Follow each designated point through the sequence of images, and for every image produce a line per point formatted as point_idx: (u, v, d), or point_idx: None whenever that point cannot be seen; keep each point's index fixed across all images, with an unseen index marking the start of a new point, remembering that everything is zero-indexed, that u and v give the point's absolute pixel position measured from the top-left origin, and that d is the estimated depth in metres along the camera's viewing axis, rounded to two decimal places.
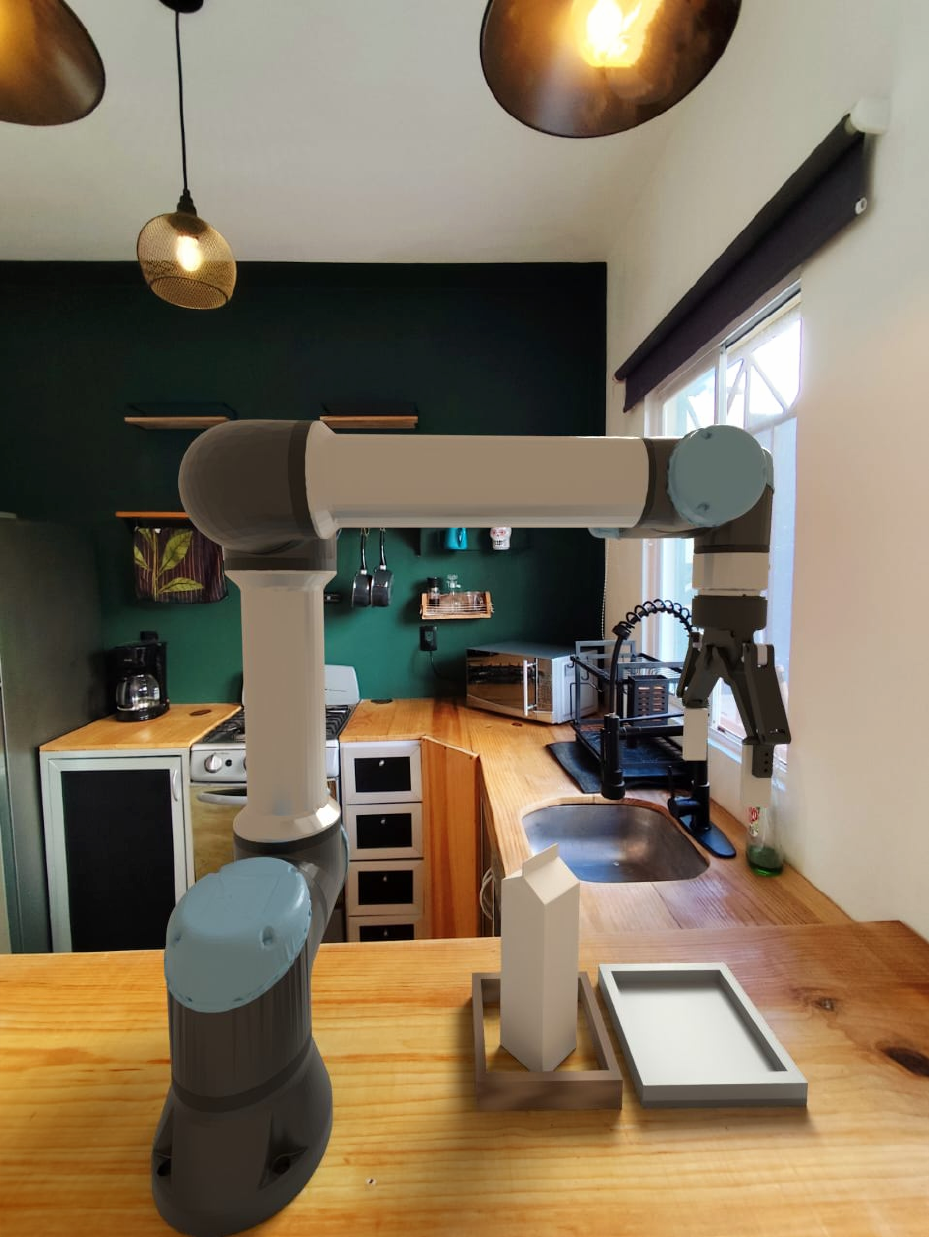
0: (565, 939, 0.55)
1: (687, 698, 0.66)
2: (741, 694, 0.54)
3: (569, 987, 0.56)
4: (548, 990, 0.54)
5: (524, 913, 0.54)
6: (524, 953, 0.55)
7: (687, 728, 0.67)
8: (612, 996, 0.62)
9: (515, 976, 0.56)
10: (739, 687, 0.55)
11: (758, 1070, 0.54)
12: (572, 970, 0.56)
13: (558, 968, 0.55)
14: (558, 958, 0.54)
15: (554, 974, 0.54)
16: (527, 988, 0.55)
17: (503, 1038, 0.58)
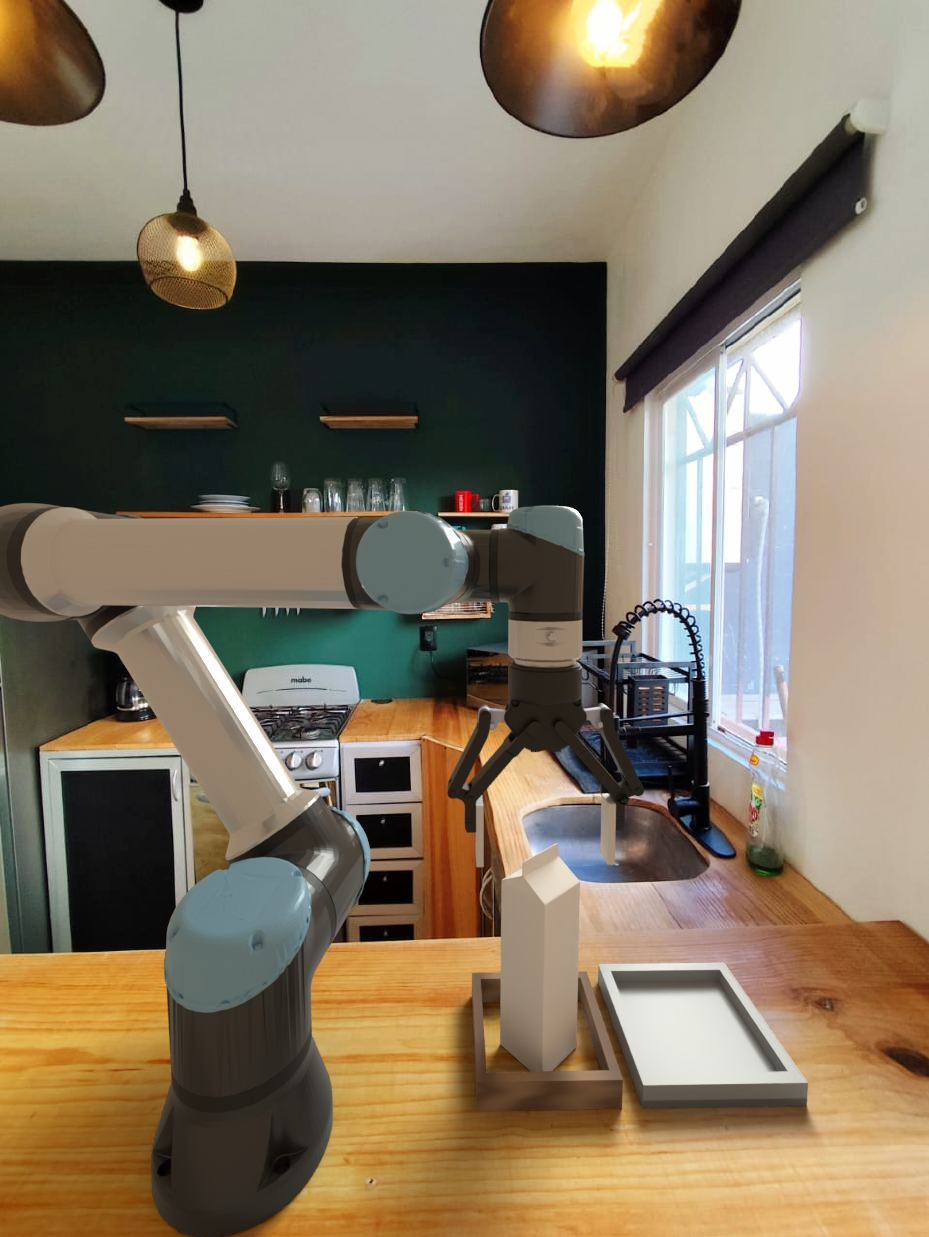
0: (565, 939, 0.55)
1: None
2: None
3: (570, 987, 0.56)
4: (548, 990, 0.54)
5: (524, 913, 0.54)
6: (525, 953, 0.55)
7: (601, 815, 0.57)
8: (612, 996, 0.62)
9: (515, 976, 0.56)
10: (498, 749, 0.56)
11: (758, 1070, 0.54)
12: (572, 970, 0.56)
13: (558, 968, 0.55)
14: (558, 958, 0.54)
15: (554, 974, 0.54)
16: (527, 988, 0.55)
17: (503, 1038, 0.58)
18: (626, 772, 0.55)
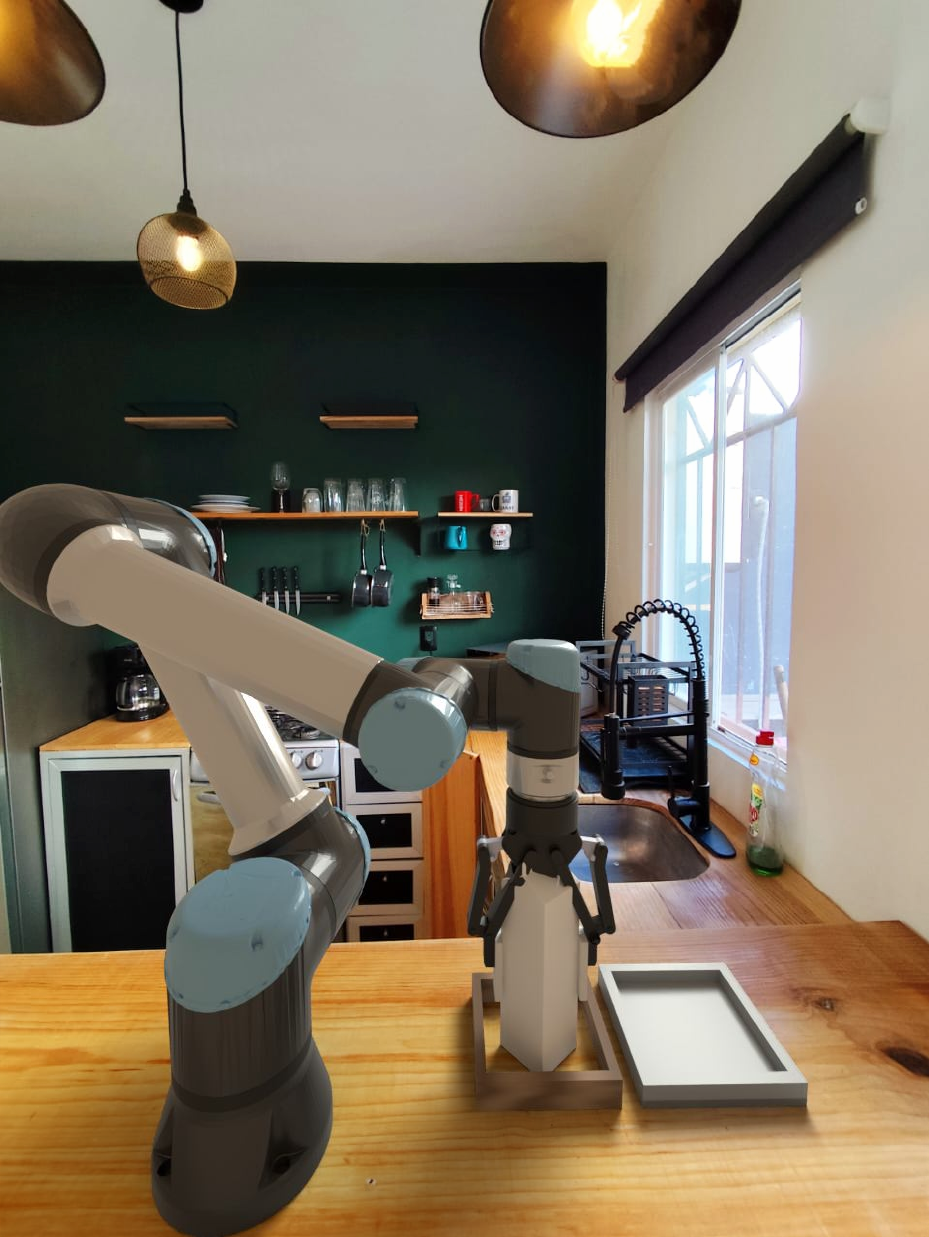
0: (565, 939, 0.55)
1: None
2: None
3: (570, 987, 0.56)
4: (548, 989, 0.54)
5: (524, 912, 0.54)
6: (525, 953, 0.55)
7: None
8: (612, 996, 0.62)
9: (515, 976, 0.56)
10: (504, 877, 0.57)
11: (758, 1070, 0.54)
12: (572, 970, 0.56)
13: (558, 968, 0.55)
14: (558, 957, 0.54)
15: (554, 973, 0.54)
16: (527, 988, 0.55)
17: (503, 1038, 0.58)
18: (604, 909, 0.56)
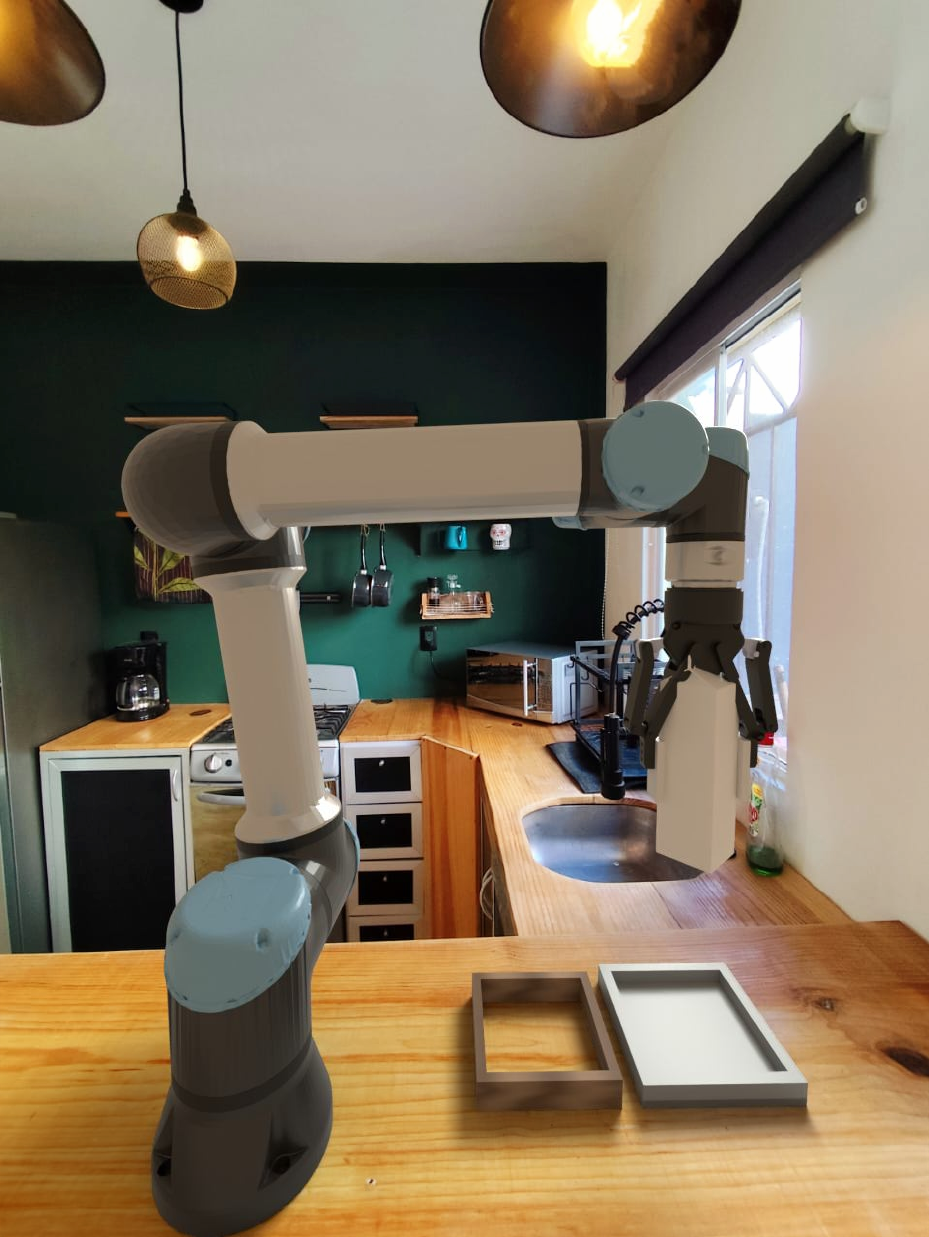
0: (729, 735, 0.55)
1: None
2: (657, 689, 0.57)
3: (731, 787, 0.56)
4: (717, 780, 0.53)
5: (690, 706, 0.54)
6: (690, 747, 0.54)
7: None
8: (612, 996, 0.62)
9: (676, 776, 0.55)
10: None
11: (758, 1070, 0.54)
12: (733, 771, 0.56)
13: (724, 762, 0.54)
14: (725, 751, 0.54)
15: (721, 766, 0.54)
16: (693, 782, 0.54)
17: (660, 844, 0.57)
18: (766, 707, 0.55)
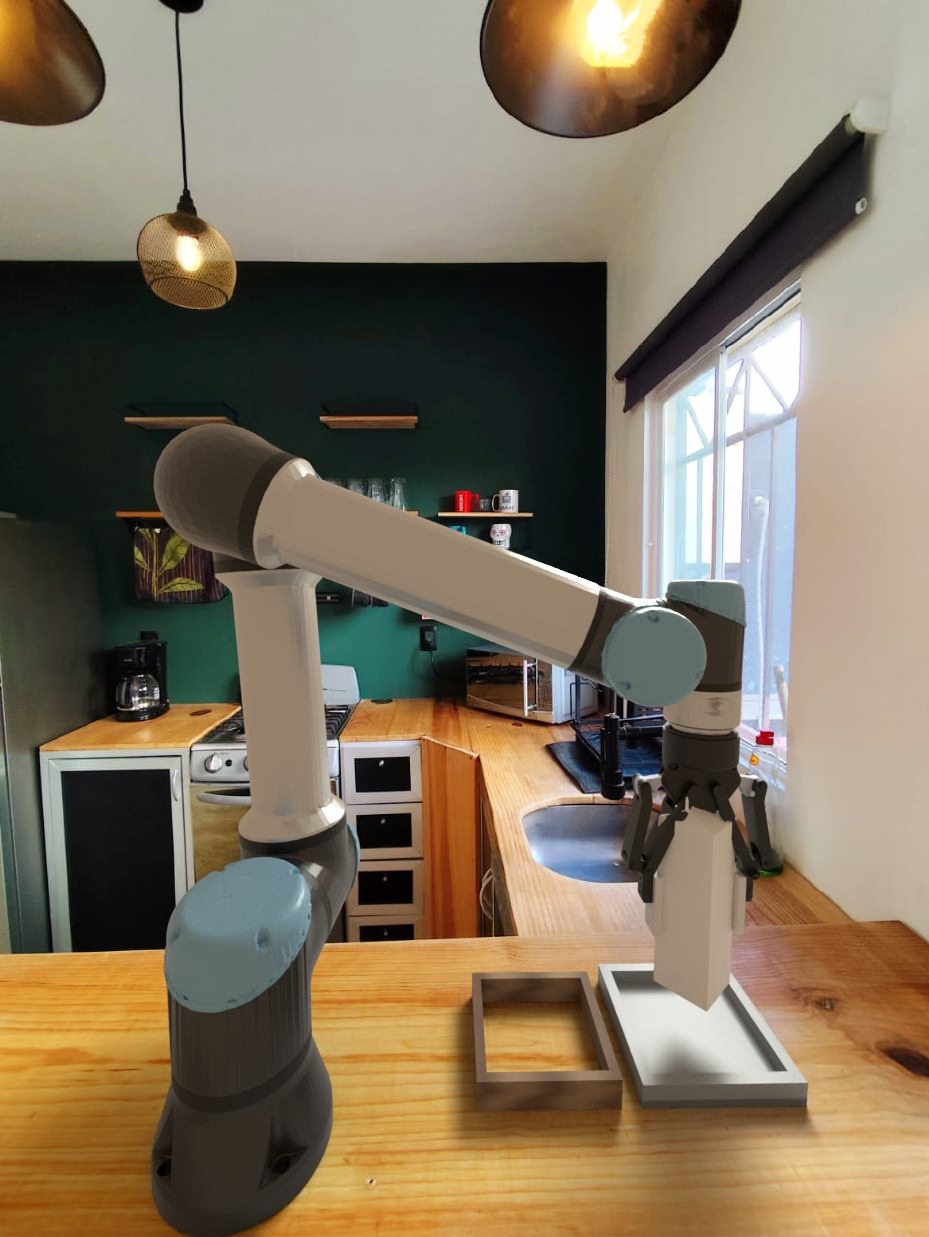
0: (726, 873, 0.56)
1: None
2: (655, 822, 0.58)
3: (727, 922, 0.57)
4: (714, 921, 0.54)
5: (687, 846, 0.55)
6: (687, 886, 0.55)
7: None
8: (612, 996, 0.62)
9: (674, 911, 0.57)
10: (659, 815, 0.58)
11: (758, 1070, 0.54)
12: (729, 905, 0.57)
13: (720, 901, 0.55)
14: (721, 890, 0.55)
15: (718, 906, 0.55)
16: (690, 920, 0.55)
17: (658, 974, 0.58)
18: (762, 844, 0.56)
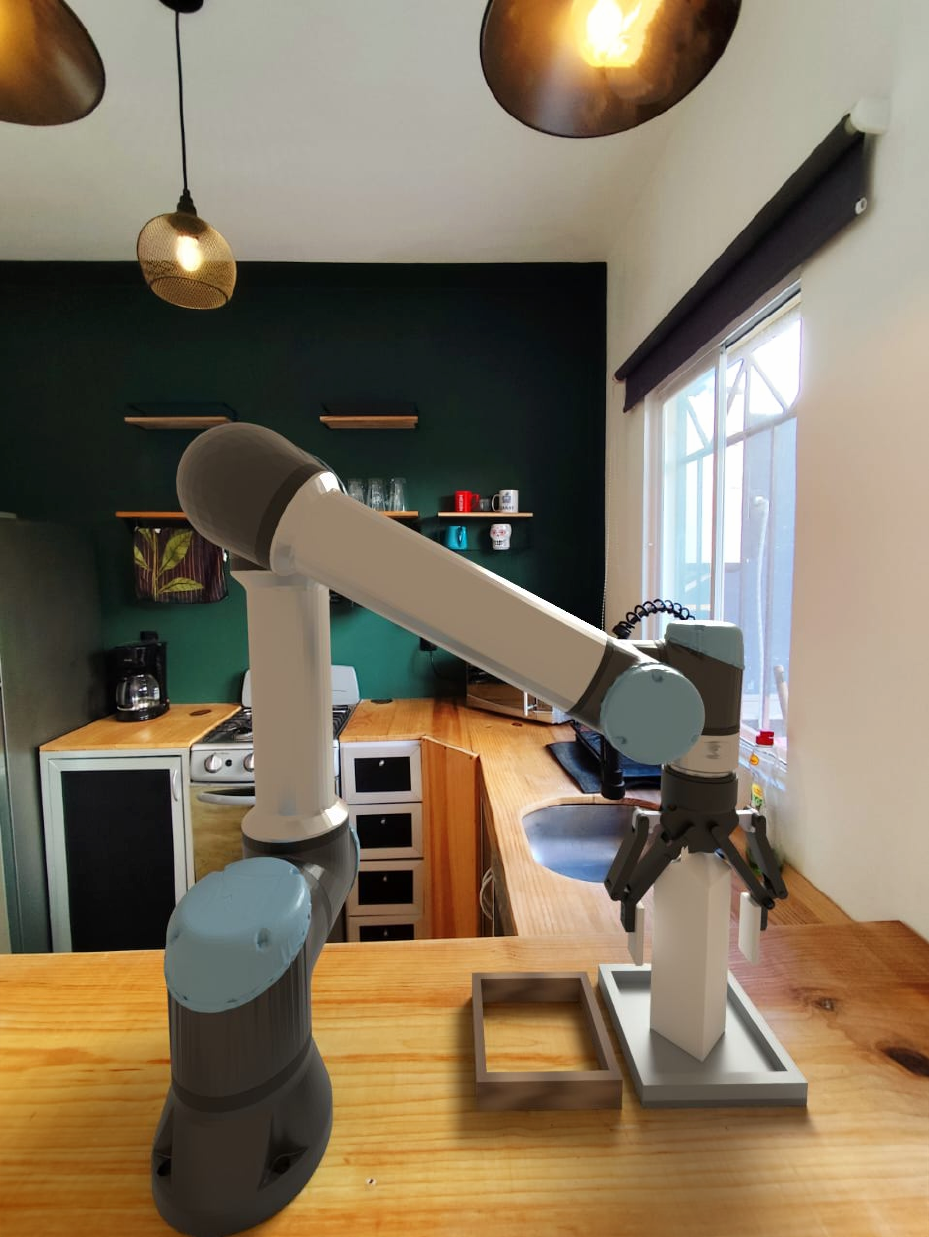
0: (721, 924, 0.56)
1: None
2: (646, 854, 0.59)
3: (722, 971, 0.57)
4: (709, 972, 0.55)
5: (682, 897, 0.56)
6: (683, 937, 0.56)
7: (740, 913, 0.60)
8: (612, 996, 0.62)
9: (669, 960, 0.57)
10: (650, 849, 0.59)
11: (758, 1070, 0.54)
12: (725, 954, 0.58)
13: (715, 951, 0.56)
14: (716, 941, 0.56)
15: (713, 957, 0.55)
16: (685, 971, 0.56)
17: (654, 1021, 0.59)
18: (773, 876, 0.57)
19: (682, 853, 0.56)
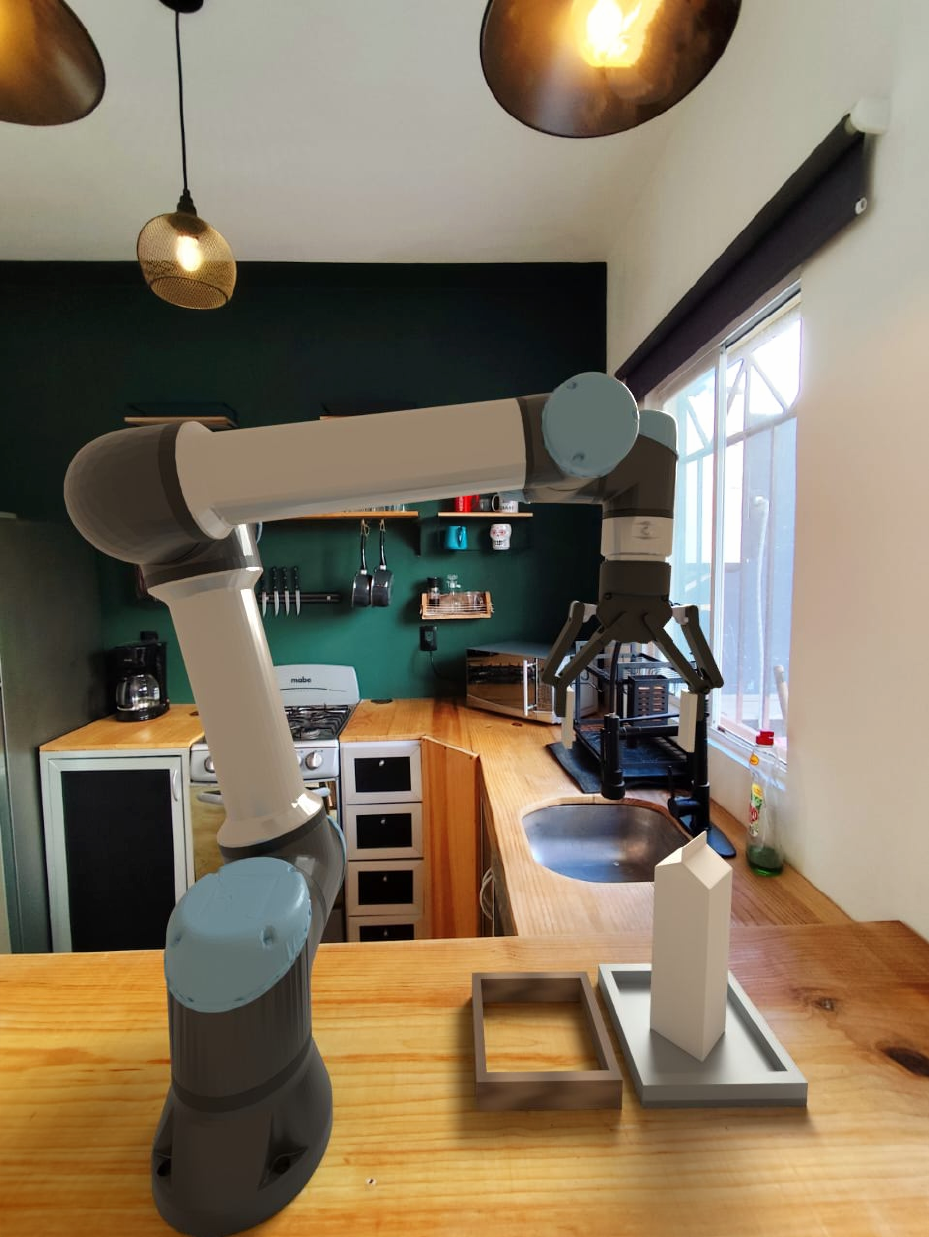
0: (721, 924, 0.56)
1: (684, 678, 0.61)
2: (581, 648, 0.61)
3: (723, 971, 0.57)
4: (709, 973, 0.55)
5: (683, 898, 0.56)
6: (683, 937, 0.56)
7: (680, 710, 0.61)
8: (612, 996, 0.62)
9: (670, 961, 0.57)
10: (586, 643, 0.61)
11: (758, 1070, 0.54)
12: (725, 954, 0.58)
13: (716, 952, 0.56)
14: (716, 942, 0.56)
15: (713, 957, 0.55)
16: (686, 971, 0.56)
17: (654, 1021, 0.59)
18: (708, 665, 0.59)
19: (683, 853, 0.56)
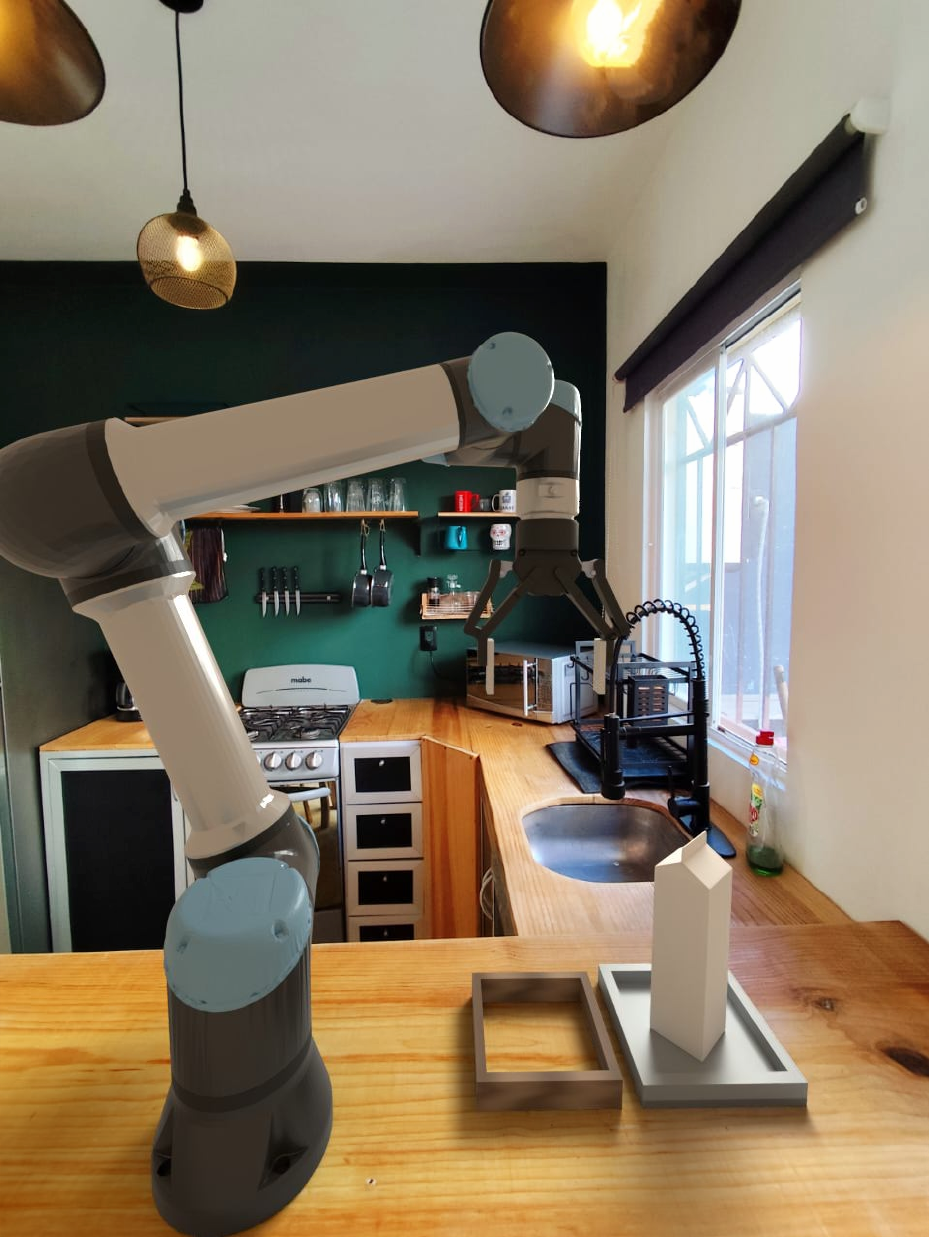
0: (721, 924, 0.56)
1: None
2: (502, 602, 0.66)
3: (723, 971, 0.57)
4: (709, 973, 0.55)
5: (683, 898, 0.56)
6: (683, 937, 0.56)
7: (594, 657, 0.67)
8: (612, 996, 0.62)
9: (670, 961, 0.57)
10: None
11: (758, 1070, 0.54)
12: (725, 954, 0.58)
13: (716, 952, 0.56)
14: (716, 942, 0.56)
15: (713, 957, 0.55)
16: (686, 971, 0.56)
17: (654, 1021, 0.59)
18: (615, 614, 0.64)
19: (683, 853, 0.56)
